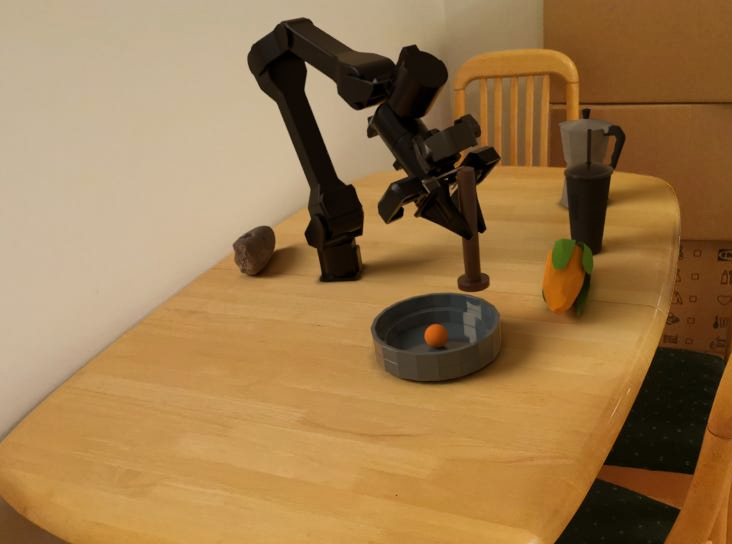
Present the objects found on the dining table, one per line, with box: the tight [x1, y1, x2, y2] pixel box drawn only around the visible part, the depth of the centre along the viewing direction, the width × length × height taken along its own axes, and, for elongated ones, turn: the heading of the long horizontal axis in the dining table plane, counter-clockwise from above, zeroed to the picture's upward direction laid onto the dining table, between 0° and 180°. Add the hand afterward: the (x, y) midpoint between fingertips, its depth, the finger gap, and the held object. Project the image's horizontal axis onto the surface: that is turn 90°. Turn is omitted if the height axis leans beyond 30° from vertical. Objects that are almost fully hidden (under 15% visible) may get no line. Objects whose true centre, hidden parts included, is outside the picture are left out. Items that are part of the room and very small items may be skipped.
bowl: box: [369, 291, 502, 382], centre depth 93 cm, size 17×17×4 cm
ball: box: [425, 324, 448, 348], centre depth 93 cm, size 3×3×3 cm
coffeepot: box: [557, 107, 627, 209], centre depth 131 cm, size 15×9×18 cm, turn 37°
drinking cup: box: [563, 129, 614, 255], centre depth 112 cm, size 8×8×20 cm
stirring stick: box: [456, 167, 491, 293], centre depth 90 cm, size 4×4×16 cm
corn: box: [541, 238, 595, 316], centre depth 101 cm, size 7×8×20 cm
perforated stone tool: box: [232, 225, 277, 276], centre depth 127 cm, size 15×5×7 cm, turn 167°
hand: (477, 234), depth 89 cm, fingers closed on stirring stick, 2 cm apart
